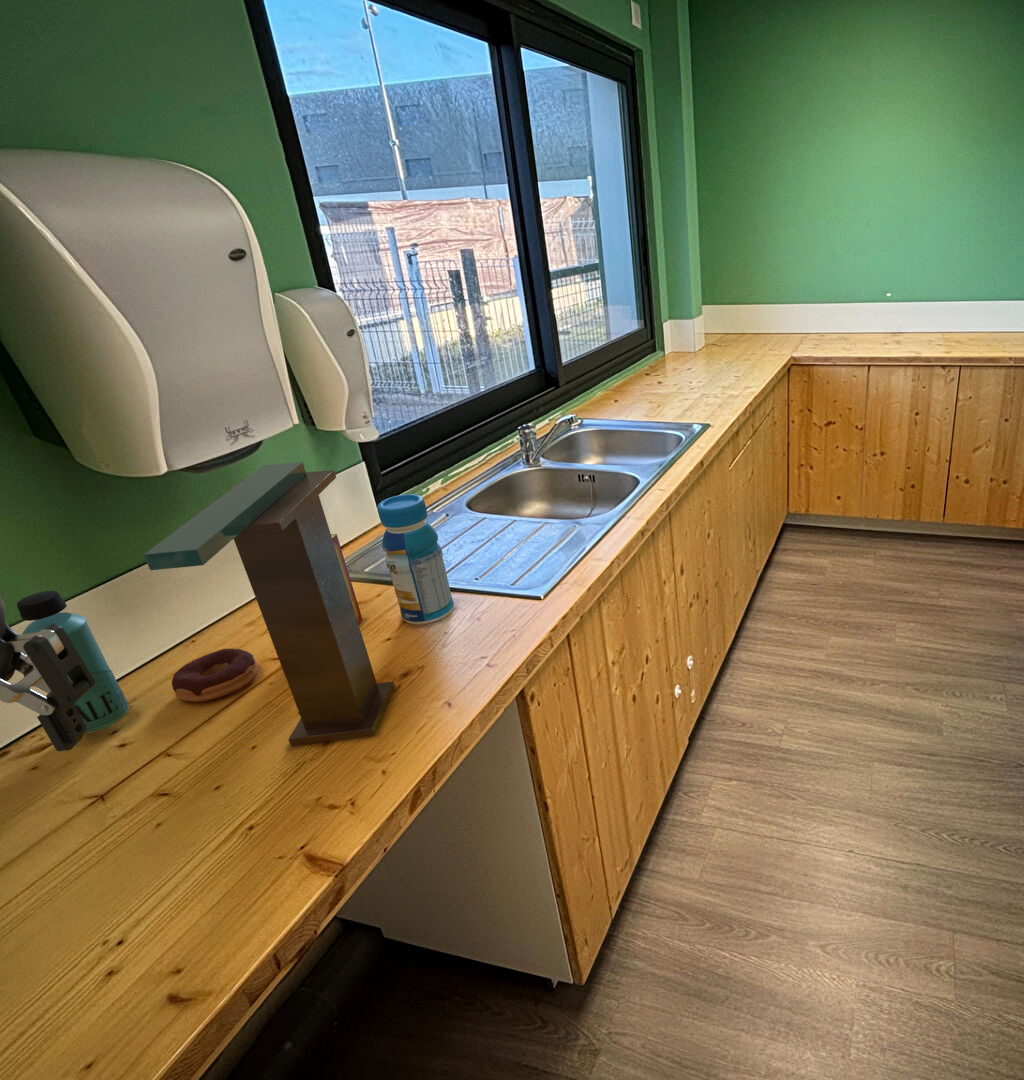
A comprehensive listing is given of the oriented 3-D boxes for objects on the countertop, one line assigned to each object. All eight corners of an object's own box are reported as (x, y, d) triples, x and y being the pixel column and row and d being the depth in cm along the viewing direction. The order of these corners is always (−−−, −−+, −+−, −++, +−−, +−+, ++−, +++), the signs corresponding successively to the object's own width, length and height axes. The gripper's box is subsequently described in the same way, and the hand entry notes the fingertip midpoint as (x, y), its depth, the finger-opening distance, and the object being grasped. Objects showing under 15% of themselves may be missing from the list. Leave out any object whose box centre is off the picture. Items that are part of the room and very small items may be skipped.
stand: (322, 692, 97) (246, 476, 84) (397, 683, 99) (334, 469, 85) (273, 775, 83) (172, 531, 69) (361, 764, 84) (279, 522, 70)
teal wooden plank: (267, 477, 83) (263, 465, 82) (306, 474, 84) (302, 461, 83) (149, 570, 62) (142, 554, 61) (203, 565, 62) (197, 549, 61)
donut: (260, 656, 106) (251, 634, 104) (262, 689, 99) (253, 666, 97) (180, 680, 101) (169, 657, 100) (176, 716, 94) (164, 693, 92)
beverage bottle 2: (452, 622, 113) (424, 508, 104) (396, 630, 111) (364, 515, 103) (458, 596, 120) (433, 488, 112) (406, 603, 119) (377, 494, 110)
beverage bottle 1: (112, 708, 96) (46, 580, 87) (148, 715, 94) (85, 586, 86) (61, 739, 90) (-15, 607, 82) (98, 748, 89) (25, 613, 80)
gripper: (-274, 612, 45) (-131, 800, 52) (-25, 588, 47) (81, 772, 54) (-161, 560, 51) (-48, 732, 58) (53, 540, 53) (138, 709, 60)
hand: (13, 751), depth 56 cm, fingers open, 8 cm apart
